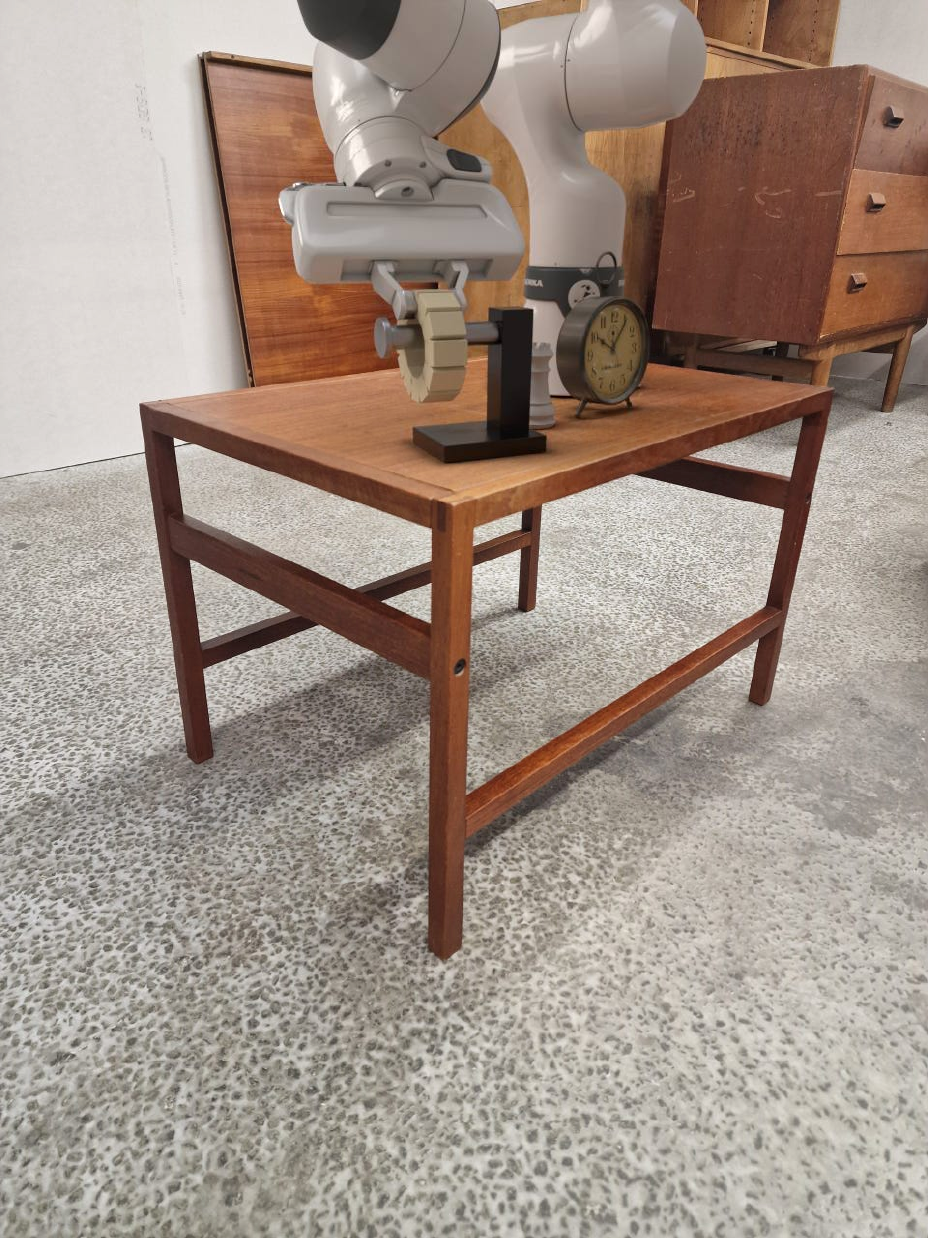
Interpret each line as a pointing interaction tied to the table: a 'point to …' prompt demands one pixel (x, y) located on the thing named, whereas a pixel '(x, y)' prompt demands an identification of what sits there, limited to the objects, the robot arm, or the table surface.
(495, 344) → the peg stand
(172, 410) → the table surface
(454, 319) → the notched ring
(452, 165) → the robot arm
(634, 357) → the alarm clock
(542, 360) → the rook chess piece
